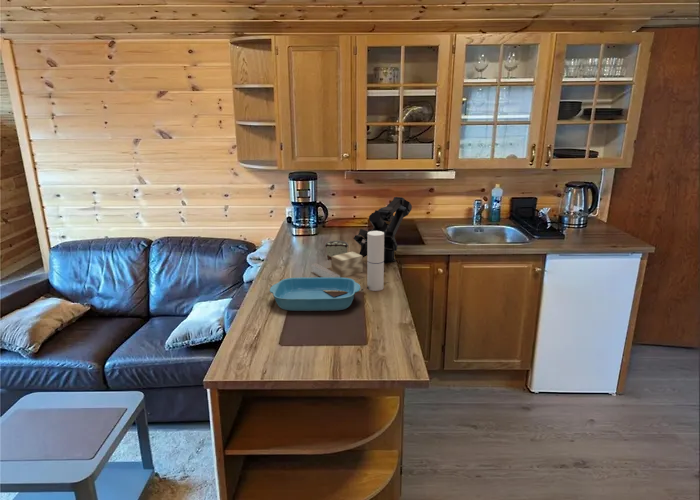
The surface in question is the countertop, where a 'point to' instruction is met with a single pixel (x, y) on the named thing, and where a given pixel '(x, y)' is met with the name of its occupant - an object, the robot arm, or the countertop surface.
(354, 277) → the walnut board
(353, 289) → the casserole dish
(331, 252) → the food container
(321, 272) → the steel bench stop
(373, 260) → the cylindrical container
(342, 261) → the maple block
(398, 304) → the countertop surface
